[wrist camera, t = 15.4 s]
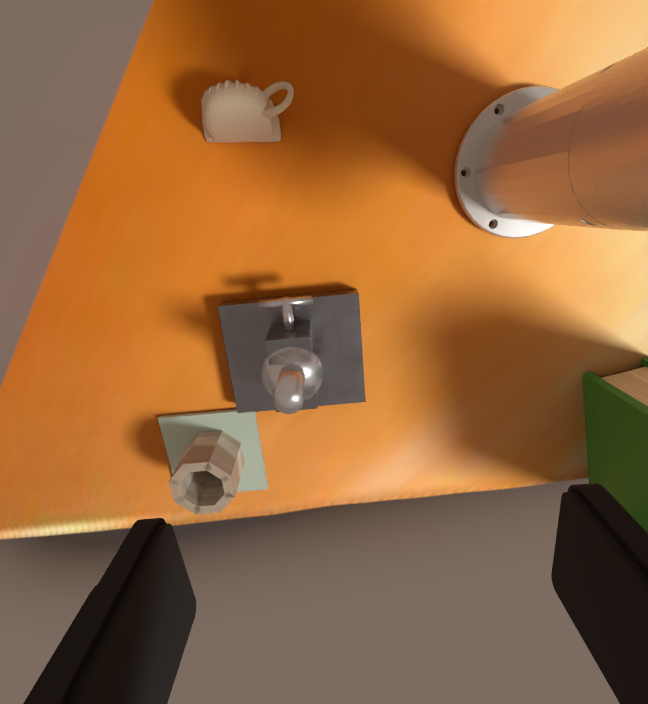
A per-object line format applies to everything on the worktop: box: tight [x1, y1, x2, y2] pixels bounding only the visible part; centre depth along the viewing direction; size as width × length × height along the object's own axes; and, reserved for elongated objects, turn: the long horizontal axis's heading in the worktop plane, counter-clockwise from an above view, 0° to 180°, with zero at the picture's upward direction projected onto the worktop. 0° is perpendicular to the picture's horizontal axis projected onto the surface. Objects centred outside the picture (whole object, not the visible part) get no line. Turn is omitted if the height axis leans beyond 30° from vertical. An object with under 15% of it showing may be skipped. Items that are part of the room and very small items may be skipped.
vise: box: [218, 289, 365, 414], centre depth 38 cm, size 14×13×12 cm
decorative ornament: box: [201, 80, 294, 142], centre depth 33 cm, size 4×8×5 cm, turn 89°
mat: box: [158, 409, 268, 492], centre depth 47 cm, size 11×11×1 cm
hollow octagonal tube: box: [169, 431, 245, 514], centre depth 44 cm, size 6×6×6 cm
